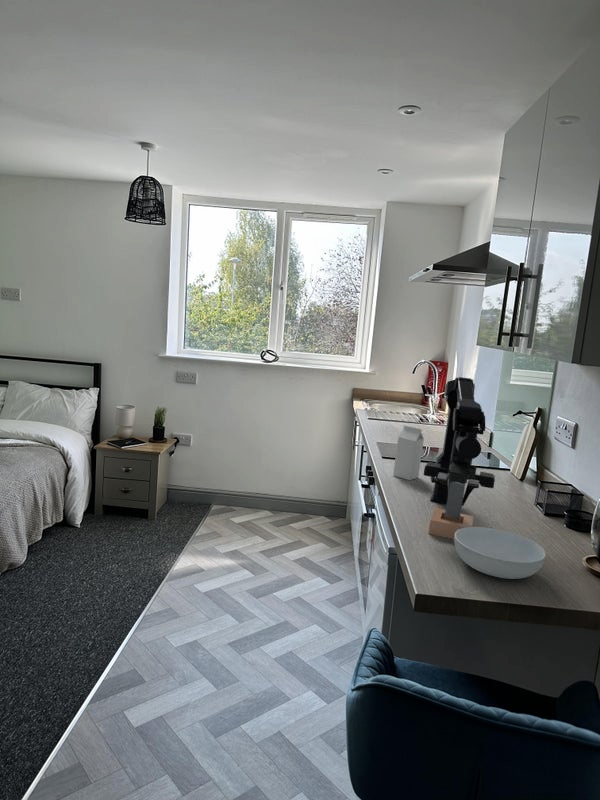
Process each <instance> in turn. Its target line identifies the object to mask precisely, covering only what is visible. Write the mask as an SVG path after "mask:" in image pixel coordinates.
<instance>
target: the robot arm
mask: <svg viewBox="0 0 600 800" xmlns="http://www.w3.org/2000/svg"><path fill="white" fill-rule="evenodd" d="M475 387H476V384H475V383H474V379H473V378H469V377H461V376H458V377H455V378H454V379H452V380H448V381H447V382H446V384H445V386H444V396H445V402H446V404H447V407H448V409H449V410H448V414H447V420H446V427H445V434H444V438H443V439H444V440H443V447H442V452H441V453H440V454H439V455H438V457H437V458H436V460H435V462H431V461H428V462H427V463H426V464H425V466H424V469H423V476H425V477H429V478H430V482H431V483H432V484H434V485H433V493H432V495H431V497H430V502H433V503H438V504H439V503H440V504H443V505H447V499H448V492H449V486H450V481H451V482H460V483H461V484H465V485H466V486H465V490H464V496H463V501H462V507H464V505H465V503H466V501H467V500H468V498H469V496H470V494H471V493H472V492H473V491H474V489H479V488H480V487H482V488H487V489H494V487H495V482H496V481H495V480H496V478H495V477H496V476H495V475H494V473H491V472H485V471H480V473H479V474H477V466H473V465H472V464H473V460H474V459H476V458H478V457H479V456H480V454H481V452H482V445H481V442H480V441H479V440H478V435H482V436H483V435H484V432H485V431H486V415H485V412H484V411H483V409H482V406H481V404H480V403H478V402H477V401H475V389H476V388H475ZM479 486H480V487H479Z"/></svg>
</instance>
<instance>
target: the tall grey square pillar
mask: <svg viewBox="0 0 600 800" xmlns="http://www.w3.org/2000/svg"><path fill="white" fill-rule="evenodd" d="M465 490H466V484H461V483H460V482H451V481H450V486H449V492H448V499H447V504H445V505H446V507H445V510H446V512H445V517H448V518H452V519H457V520H460V515H461V514H462V513H461V512H462V507H463V506H462V501H463V497H464V494H465Z"/></svg>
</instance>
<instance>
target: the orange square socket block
mask: <svg viewBox="0 0 600 800" xmlns="http://www.w3.org/2000/svg"><path fill="white" fill-rule="evenodd" d="M445 512H446V509H441V508H437V507H434V509H433V512H432V514H431V517H430V520H429V528H428V533H430V534H429V535H433V534H435V535H434V536H437V535H439V536H438V537H441V536H444V537H443V538H446V537H448V538H447V539H450V538H452V540H454V535H455V532H456V531H457V530H459V529H462V528H467V527H473V522H474V515H471V514H470V515H469V514H465V513H461V515H460V520H457V519H452V518H448V517H445Z"/></svg>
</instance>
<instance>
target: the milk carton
mask: <svg viewBox="0 0 600 800" xmlns="http://www.w3.org/2000/svg"><path fill="white" fill-rule="evenodd" d="M424 441H425V438H424V436H423V433H422V429H421V428H416V427H412V426H409V425H403V428H402V430H401V431H400V433H399V434H398V438H397V444H396V449H395V450H396V451H395V459H394V465H393V474H392V475H393V477H397V478H399V479H400V478H401V479H404V480H408V481H412V480H414V479H416V478H419V475H420V467H421V461H422V453H423V447H424Z"/></svg>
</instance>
